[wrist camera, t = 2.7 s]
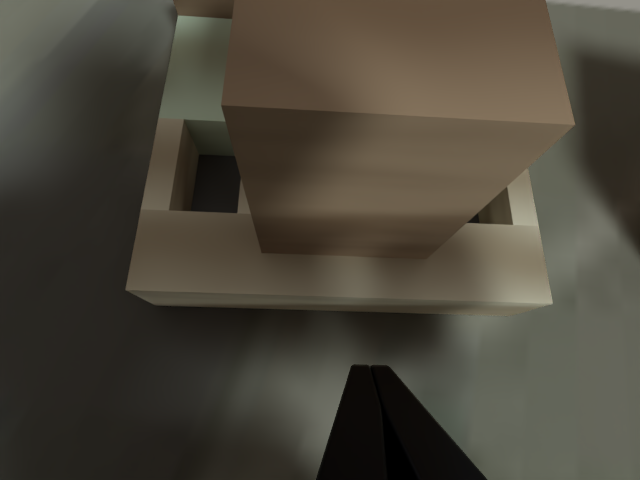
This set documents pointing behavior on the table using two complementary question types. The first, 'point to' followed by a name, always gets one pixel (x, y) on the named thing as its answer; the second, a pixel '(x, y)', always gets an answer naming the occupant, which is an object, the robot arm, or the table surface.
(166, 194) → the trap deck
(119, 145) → the table surface
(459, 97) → the walnut block
